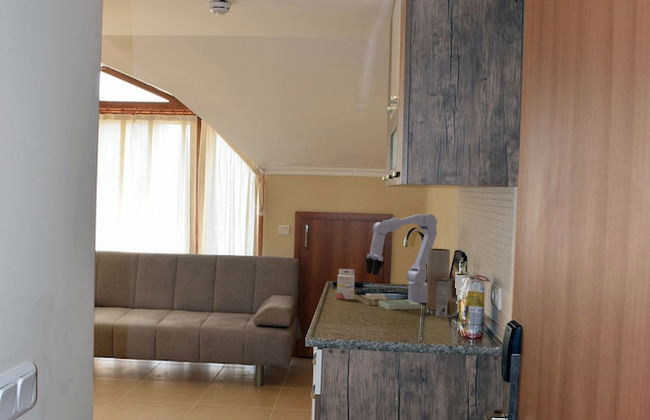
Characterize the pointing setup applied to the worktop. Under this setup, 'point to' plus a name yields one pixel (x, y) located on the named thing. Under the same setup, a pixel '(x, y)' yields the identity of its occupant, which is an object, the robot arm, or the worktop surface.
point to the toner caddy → (375, 295)
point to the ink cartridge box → (345, 284)
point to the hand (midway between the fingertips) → (371, 274)
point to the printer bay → (370, 300)
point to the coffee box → (446, 298)
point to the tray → (399, 304)
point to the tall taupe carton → (436, 273)
